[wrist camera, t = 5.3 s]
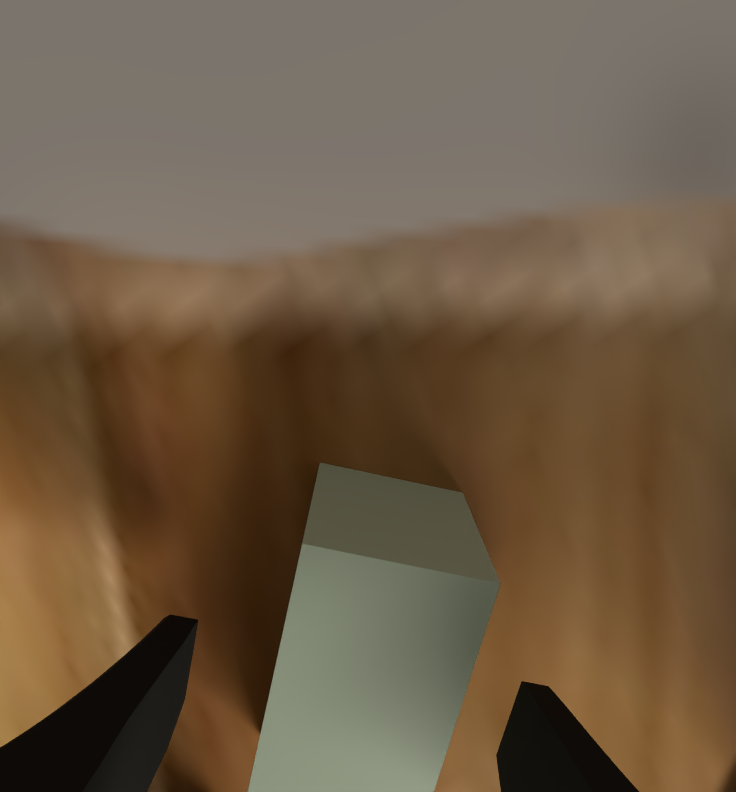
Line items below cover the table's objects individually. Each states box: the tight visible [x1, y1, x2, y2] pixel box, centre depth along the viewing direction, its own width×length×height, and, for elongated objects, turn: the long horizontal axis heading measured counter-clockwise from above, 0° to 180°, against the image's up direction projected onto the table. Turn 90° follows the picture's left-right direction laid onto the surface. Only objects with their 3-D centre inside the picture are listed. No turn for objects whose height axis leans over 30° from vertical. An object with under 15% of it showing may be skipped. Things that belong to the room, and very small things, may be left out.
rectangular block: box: [248, 463, 501, 792], centre depth 12 cm, size 8×4×4 cm, turn 167°
